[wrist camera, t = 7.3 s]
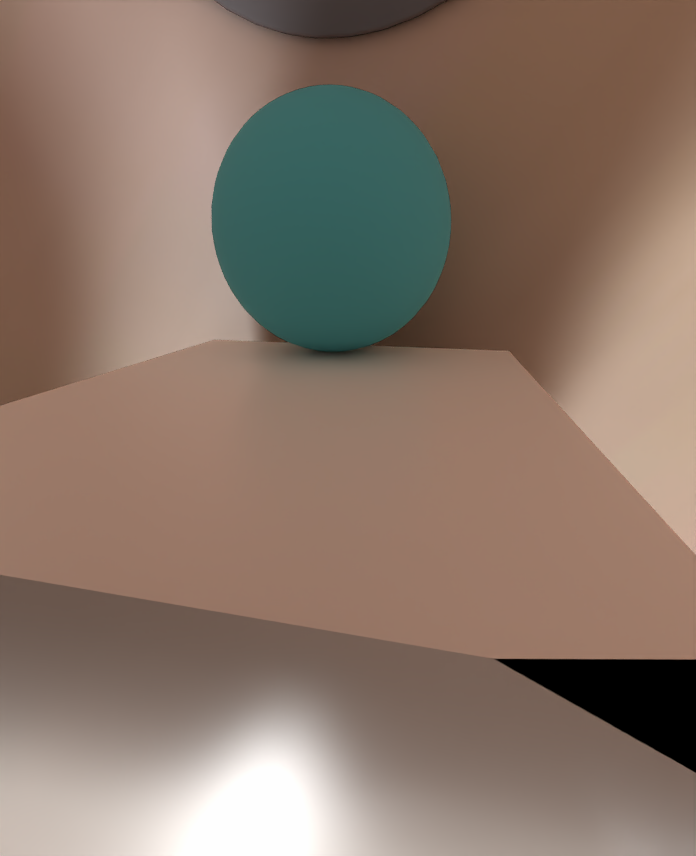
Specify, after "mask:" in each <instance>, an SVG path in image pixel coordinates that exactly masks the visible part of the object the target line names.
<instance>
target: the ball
mask: <svg viewBox="0 0 696 856" xmlns="http://www.w3.org/2000/svg"><path fill="white" fill-rule="evenodd" d="M212 234H213V240H214V245H215V250H216V255H217V258H218V261H219V264H220V267H221V269H222V272H223V274H224V277H225V279H226V281H227V283H228V285H229V287H230V289H231V290H232V292H233V293H234V295H235V297H236V298H237V299H238V301H239V302H240V304H241V305H242V306H243V308H244V309H245V310H246V311H247V312H248V313H249V314H250V315H251V316H252V317H253V318H254V319H255V320H256V321H257V322H258V323H259V324H260V325H262V326H263V327H264V328H266V329H267V330H268V331H270V332H271V333H273V334H274V335H276V336H277V337H279V338H281V339H283V340H285V341H287V342H289V343H292V344H295V345H298V346H300V347H303V348H307V349H311V350H316V351H326V352H340V351H349V350H355V349H359V348H363V347H366V346H370V345H372V344H374V343H377V342H379V341H381V340H383V339H385V338H387V337H389V336H390V335H392V334H394V333H395V332H397V331H398V330H399V329H401V328H402V327H403V326H405V325H406V324H407V323H408V322H409V321H410V320H411V319H412V318H413V317H414V316H415V315H416V314H417V312H418V311H419V310H420V309H421V307H422V306H423V305H424V304H425V303H426V301H427V300H428V298H429V297H430V295H431V293H432V292H433V290H434V288H435V286H436V284H437V282H438V279H439V277H440V275H441V273H442V270H443V268H444V264H445V260H446V257H447V253H448V248H449V242H450V234H451V206H450V200H449V194H448V189H447V184H446V180H445V177H444V174H443V172H442V169H441V166H440V164H439V161H438V158H437V156H436V154H435V153H434V151H433V149H432V148H431V146H430V144H429V143H428V141H427V139H426V138H425V136H424V135H423V133H422V132H421V131H420V130H419V129H418V127H417V126H416V125H415V124H414V123H413V122H412V121H411V120H410V119H409V118H408V117H407V116H406V115H405V114H404V113H403V112H402V111H400V110H399V109H398V108H396V107H395V106H393V105H392V104H390V103H389V102H387V101H385V100H384V99H382V98H381V97H379V96H377V95H374V94H372V93H370V92H367V91H364V90H360V89H357V88H353V87H349V86H343V85H317V86H310V87H306V88H302V89H298V90H295V91H292V92H289V93H287V94H285V95H283V96H280V97H278V98H277V99H275V100H273V101H271V102H270V103H268V104H267V105H265V106H264V107H263V108H261V109H260V110H259V111H257V112H256V113H255V114H254V115H253V116H252V117H251V118H250V119H249V120H248V121H247V122H246V123H245V124H244V126H243V127H242V128H241V130H240V131H239V132H238V134H237V135H236V136H235V138H234V139H233V141H232V142H231V144H230V146H229V147H228V149H227V151H226V154H225V156H224V158H223V161H222V163H221V166H220V168H219V171H218V174H217V178H216V181H215V186H214V192H213V199H212Z"/></svg>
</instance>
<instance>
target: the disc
mask: <svg viewBox="0 0 696 856" xmlns="http://www.w3.org/2000/svg"><path fill="white" fill-rule="evenodd" d="M215 1H216V2H217V3H219V4H220V5H221V6H223V7H224V8H226V9H227V10H229V11H231V12H233V13H235V14H237V15H239V16H241V17H243V18H244V19H246V20H248V21H250V22H252V23H254V24H256V25H259V26H263V27H266V28H269V29H272V30H275V31H278V32H282V33H285V34H290V35H298V36H305V37H313V38H332V37H351V36H356V35H360V34H365V33H370V32H375V31H379V30H384V29H386V28H389V27H391V26H394V25H397V24H399V23H402V22H404V21H407V20H410V19H412V18H415V17H417V16H419V15H421V14H423V13H425V12H426V11H428V10H430V9H432V8H433V7H435V6H437V5H439V4H441V3H442V2H444V1H446V0H215Z"/></svg>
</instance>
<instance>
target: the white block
mask: <svg viewBox="0 0 696 856" xmlns="http://www.w3.org/2000/svg"><path fill="white" fill-rule="evenodd" d="M0 856H696V555H695V554H694V553H693V552H692V551H691V550H690V548H689V547H688V546H687V545H686V544H685V543H684V542H683V541H682V540H681V539H680V537H679V536H678V535H677V534H676V533H675V532H674V531H673V530H672V529H671V528H670V527H669V525H668V524H667V523H666V522H665V521H664V520H663V519H662V518H661V517H660V516H659V515H658V513H657V512H656V511H655V510H654V509H653V508H652V507H651V506H650V505H649V504H648V502H647V501H646V500H645V499H644V498H643V497H642V496H641V495H640V494H639V493H638V492H637V490H636V489H635V488H634V487H633V486H632V485H631V484H630V483H629V482H628V481H627V480H626V478H625V477H624V476H623V475H622V474H621V473H620V472H619V471H618V470H617V469H616V467H615V466H614V465H613V464H612V463H611V462H610V461H609V460H608V459H607V458H606V457H605V455H604V454H603V453H602V452H601V451H600V450H599V449H598V448H597V447H596V446H595V445H594V443H593V442H592V441H591V440H590V439H589V438H588V437H587V436H586V435H585V434H584V432H583V431H582V430H581V429H580V428H579V427H578V426H577V425H576V424H575V423H574V422H573V420H572V419H571V418H570V417H569V416H568V415H567V414H566V413H565V412H564V411H563V410H562V408H561V407H560V406H559V405H558V404H557V403H556V402H555V401H554V400H553V399H552V397H551V396H550V395H549V394H548V393H547V392H546V391H545V390H544V389H543V388H542V387H541V385H540V384H539V383H538V382H537V381H536V380H535V379H534V378H533V377H532V376H531V375H530V373H529V372H528V371H527V370H526V369H525V368H524V367H523V366H522V365H521V364H520V362H519V361H518V360H517V359H516V358H515V357H514V356H513V355H512V354H511V353H510V352H509V351H500V350H474V349H447V348H420V347H393V346H366V347H363V348H359V349H355V350H349V351H340V352H326V351H316V350H311V349H307V348H303V347H300V346H298V345H295V344H292V343H286V342H259V341H232V340H212V341H209V342H205V343H202V344H199V345H196V346H192V347H189V348H186V349H183V350H179V351H176V352H173V353H170V354H166V355H163V356H160V357H156V358H153V359H150V360H147V361H143V362H140V363H137V364H134V365H130V366H127V367H124V368H121V369H117V370H114V371H111V372H108V373H104V374H101V375H98V376H95V377H91V378H88V379H85V380H82V381H78V382H75V383H72V384H69V385H65V386H62V387H59V388H56V389H52V390H49V391H46V392H43V393H39V394H36V395H33V396H30V397H26V398H23V399H20V400H17V401H13V402H10V403H7V404H4V405H0Z"/></svg>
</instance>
